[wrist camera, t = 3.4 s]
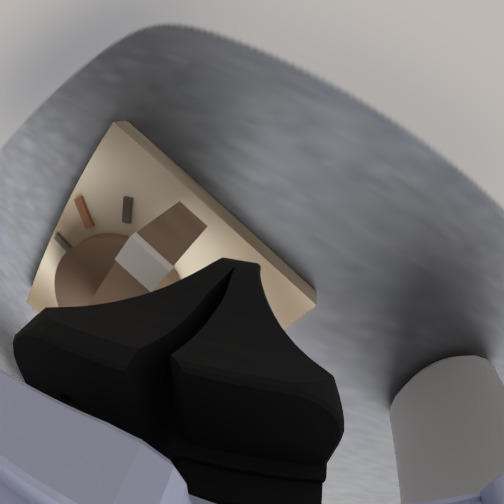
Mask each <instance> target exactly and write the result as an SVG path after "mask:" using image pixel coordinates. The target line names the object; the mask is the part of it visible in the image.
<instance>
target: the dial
mask: <svg viewBox="0 0 504 504" xmlns="http://www.w3.org/2000/svg"><path fill="white" fill-rule="evenodd" d="M207 227H208V226H207V225H206V224H205V223H203V222H202V221H201V220H200V219H199V218H198V217H197V216H196V215H195V214H193V213H192V212H191V211H190V210H189V209H188V208H187V207H186V206H185V205H184V204H182V203H181V202H180V201H179V202H178V203H176V204H175V205H173V206H172V207H171V208H169V209H168V210H166V211H165V212H164V213H162V214H161V215H159V216H158V217H157V218H155V219H154V220H152V221H151V222H150V223H148V224H147V225H146V226H144V227H143V228H142V229H140V230H139V231H136V232H135V233H134V234H132V235H131V236H130V237H128V236H125V235H121V234H116V233H101V234H97V235H93V236H91V237H88V238H86V239H85V240H83V241H82V242H80V243H79V244H77V245H76V246H74V247H73V248H71V249H70V250H69V251H67V252H66V253H65V254H64V256H63V257H62V258H61V260H60V262H59V263H58V266H57V269H56V273H55V283H54V285H55V295H56V300H57V303H58V306H59V307H77V306H88V305H96V304H103V303H109V302H115V301H119V300H124V299H128V298H132V297H136V296H140V295H143V294H146V293H149V292H152V291H155V290H158V289H161V288H163V287H166V286H168V285H171V284H173V283H175V282H177V281H179V280H180V278H179V277H178V275H177V274H176V272H175V271H174V270H173V269H172V268H173V267H174V266H175V264H176V262H177V261H178V260H179V259H180V258H181V257H182V255H183V254H184V253H185V252H186V251H187V250H188V248H189V247H190V246H191V245H192V244H193V243H194V241H195V240H196V239H197V238H198V237H199V236H200V235H201V233H202V232H203V231H204V230H205V229H206V228H207Z"/></svg>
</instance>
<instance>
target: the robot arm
mask: <svg viewBox="0 0 504 504" xmlns="http://www.w3.org/2000/svg"><path fill="white" fill-rule="evenodd" d="M260 272H261V266H260V265H259V264H258V263H253V262H247V261H241V260H235V259H229V258H224V257H223V258H220V259H218V260H217V261H215V262H213V263H211V264H209V265H208V266H206V267H204V268H202V269H201V270H199V271H197V272H195V273H193V274H191V275H189V276H187V277H185V278H183V279H181V280H179V281H177V282H175V283H173V284H171V285H168V286H166V287H163V288H161V289H158V290H155V291H152V292H149V293H146V294H143V295H140V296H136V297H132V298H128V299H124V300H119V301H115V302H109V303H103V304H96V305H88V306H77V307H45V308H44V309H43V310H42V311H41V312H40V313H39V314H38V315H36V316H35V317H34V318H33V319H32V320H31V321H30V322H29V323H28V324H27V325H26V326H25V327H23V328H22V329H21V330H20V331H19V332H18V333H17V334H16V335H15V338H14V341H13V349H14V356H15V359H16V362H17V365H18V367H19V369H20V372H21V374H22V376H23V378H24V380H25V382H26V383H24V382H22V381H20V380H19V379H17V378H15V377H13V376H12V375H10V374H8V373H7V372H5V371H4V370H2V369H0V504H321V501H322V483H324V481H325V479H326V470H327V462H328V461H329V459H330V457H331V456H332V454H333V452H334V451H335V449H336V448H337V446H338V444H339V442H340V441H341V438H342V435H343V432H344V416H343V410H342V405H341V401H340V396H339V392H338V389H337V386H336V383H335V380H334V377H333V375H331V374H330V373H329V372H327V371H326V370H325V369H323V368H322V367H321V366H319V365H318V364H317V363H315V362H314V361H313V360H311V359H310V358H309V357H308V356H307V355H306V354H305V353H304V352H302V351H301V350H300V349H299V348H298V347H297V346H296V345H295V343H294V342H293V341H292V340H291V339H290V338H289V336H288V335H287V334H286V333H285V331H284V330H283V328H282V327H281V325H280V324H279V322H278V320H277V319H276V317H275V315H274V313H273V311H272V309H271V307H270V305H269V303H268V300H267V298H266V295H265V292H264V289H263V286H262V282H261V276H260ZM407 504H504V474H503V475H500V476H499V477H497V478H495V479H493V480H492V481H491V482H489V483H488V484H487V485H486V486H485V487H484V488H483V489H482V490H481V491H480V492H476V493H471V494H467V495H462V496H456V497H451V498H445V499H439V500H432V501H425V502H417V503H407Z"/></svg>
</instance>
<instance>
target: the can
mask: <svg viewBox="0 0 504 504" xmlns="http://www.w3.org/2000/svg"><path fill="white" fill-rule="evenodd" d="M390 422H391V428H392V434H393V441H394V448H395V455H396V462H397V470H398V478H399V487H400V497H401V504H407V503H417V502H425V501H432V500H439V499H445V498H451V497H456V496H462V495H467V494H471V493H476V492H480V491H481V490H482V489H483V488H484V487H485V486H486V485H487V484H488V483H489V482H491V481H492V480H493V479H495V478H497V477H499V476H500V475H503V474H504V385H503V383H502V381H501V380H500V378H499V376H498V374H497V372H496V370H495V368H494V366H493V365H492V364H491V363H490V362H489V361H488V360H487V359H485V358H482V357H479V356H476V355H471V356H457V357H449V358H446V359H442V360H439V361H437V362H435V363H433V364H431V365H429V366H427V367H425V368H424V369H422V370H421V371H420V372H418V373H417V374H416V375H415V376H413V377H412V378H411V379H410V381H409V382H408V383H406V385H405V386H404V387H403V388H402V389H401V390H400V392H399V393H398V394H397V395H396V396H395V398H394V401H393V403H392V405H391V407H390Z"/></svg>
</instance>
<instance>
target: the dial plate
mask: <svg viewBox="0 0 504 504" xmlns="http://www.w3.org/2000/svg"><path fill="white" fill-rule="evenodd" d="M179 201H180V202H181V203H182V204H184V205H185V206H186V207H187V208H188V209H189V210H190V211H191V212H192V213H193V214H195V215H196V216H197V217H198V218H199V219H200V220H201V221H202V222H203V223H205V224H206V225H207V226H208V227H207V228H206V229H205V230H204V231H203V232H202V233H201V235H200V236H199V237H198V238H197V239H196V240H195V241H194V243H193V244H192V245H191V246H190V247H189V248H188V250H187V251H186V252H185V253H184V254H183V255H182V257H181V258H180V259H179V260H178V261H177V262H176V264H175V266H174V267H173V268H172V269H173V270H174V271H175V272H176V274H177V275H178V277H179V278H180V280H181V279H183V278H185V277H187V276H189V275H191V274H193V273H195V272H197V271H199V270H201V269H202V268H204V267H206V266H208V265H209V264H211V263H213V262H215V261H217V260H218V259H220V258H223V257H224V258H229V259H235V260H241V261H247V262H253V263H258V264H259V265H260V266H261V272H260V276H261V282H262V286H263V289H264V292H265V295H266V298H267V300H268V303H269V305H270V307H271V309H272V311H273V313H274V315H275V317H276V319H277V320H278V322H279V324H280V325H281V327H282V328H283V330H285V329H286V328H288V327H289V326H290V325H292V324H293V323H294V322H296V321H297V320H298V319H300V318H301V317H302V316H303V315H305V314H306V313H307V312H309V311H310V310H311V309H312V308H314V307H315V306H316V305H317V303H316V291H315V290H314V289H313V288H312V287H311V286H309V285H308V284H307V283H306V282H305V281H304V280H303V279H302V278H301V277H300V276H299V275H298V274H297V273H295V272H294V271H293V270H292V269H291V268H290V267H289V266H288V265H287V264H286V263H285V262H284V261H282V260H281V259H280V258H279V257H278V256H277V255H276V254H275V253H274V252H273V251H272V250H270V249H269V248H268V247H267V246H266V245H265V244H264V243H263V242H262V241H261V240H260V239H258V238H257V237H256V236H255V235H254V234H253V233H252V232H251V231H250V230H249V229H248V228H246V227H245V226H244V225H243V224H242V223H241V222H240V221H239V220H238V219H237V218H235V217H234V216H233V215H232V214H231V213H230V212H229V211H228V210H227V209H226V208H224V207H223V206H222V205H221V204H220V203H219V202H218V201H217V200H216V199H214V198H213V197H212V196H211V195H210V194H209V193H208V192H207V191H206V190H205V189H203V188H202V187H201V186H200V185H199V184H198V183H197V182H196V181H195V180H193V179H192V178H191V177H190V176H189V175H188V174H187V173H186V172H184V171H183V170H182V169H181V168H180V167H179V166H178V165H177V164H176V163H174V162H173V161H172V160H171V159H170V158H169V157H168V156H167V155H165V154H164V153H163V152H162V151H161V150H160V149H159V148H158V147H156V146H155V145H154V144H153V143H152V142H151V141H150V140H149V139H147V138H146V137H145V136H144V135H143V134H142V133H141V132H140V131H138V130H137V129H136V128H135V127H134V126H133V125H132V124H130V123H129V122H128V121H116V122H113V123H112V125H111V126H110V128H109V129H108V131H107V133H106V134H105V136H104V137H103V139H102V141H101V142H100V144H99V146H98V147H97V149H96V151H95V152H94V154H93V156H92V158H91V159H90V161H89V163H88V165H87V166H86V168H85V170H84V172H83V174H82V175H81V177H80V179H79V181H78V183H77V185H76V187H75V189H74V191H73V193H72V194H71V196H70V198H69V200H68V202H67V205H66V207H65V209H64V211H63V213H62V215H61V217H60V219H59V221H58V223H57V226H56V228H55V230H54V232H53V235H52V237H51V239H50V242H49V244H48V246H47V249H46V251H45V254H44V256H43V258H42V261H41V264H40V266H39V269H38V271H37V274H36V277H35V279H34V282H33V285H32V288H31V291H30V293H29V296H28V299H27V303H28V304H29V305H30V306H31V307H32V308H33V309H34V310H35V311H36V312H37V313H38V314H39V313H40V312H41V311H42V310H43V309H44V308H45V307H59V306H58V303H57V300H56V295H55V285H54V283H55V273H56V269H57V266H58V263H59V262H60V260H61V258H62V257H63V256H64V254H65V253H66V252H67V251H69V250H70V249H71V248H73V247H74V246H76V245H77V244H79V243H80V242H82V241H83V240H85V239H86V238H88V237H91V236H93V235H97V234H101V233H116V234H121V235H125V236H128V237H130V236H131V235H132V234H134V233H135V232H136V231H139V230H140V229H142V228H143V227H144V226H146V225H147V224H148V223H150V222H151V221H152V220H154V219H155V218H157V217H158V216H159V215H161V214H162V213H164V212H165V211H166V210H168V209H169V208H171V207H172V206H173V205H175V204H176V203H178V202H179Z"/></svg>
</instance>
